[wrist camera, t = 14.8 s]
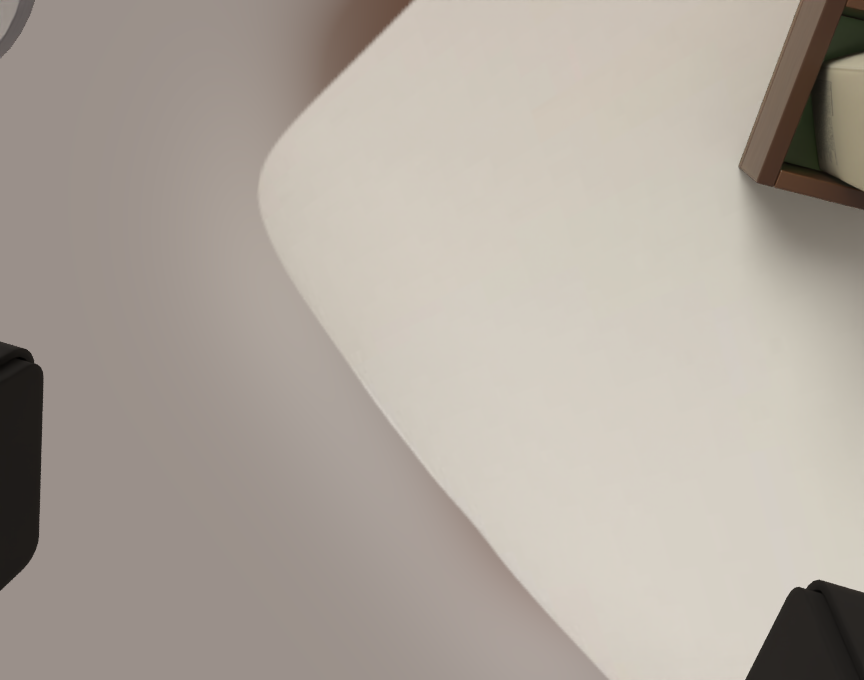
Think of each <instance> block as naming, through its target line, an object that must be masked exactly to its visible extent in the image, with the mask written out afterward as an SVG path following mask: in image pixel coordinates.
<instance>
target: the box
mask: <svg viewBox="0 0 864 680" xmlns="http://www.w3.org/2000/svg"><path fill="white" fill-rule="evenodd" d="M811 97H812V108H813V119H814V128H815V137H816V145H817V153H818V161H819V167H820V169H821V170H823V171H824V172H827V173H828V174H830V175H832V176H834V177H836V178H838V179H840V180H842V181H844V182H846V183H848V184H850V185H852V186H854V187H856V188H858V189H860V190H862V191H864V50H863V51H859V52H855V53H851V54H847V55H843V56H840V57H836V58H832V59H829V60H825V61H823V63H822V66H821V68H820V71H819V73H818V76H817V79H816V81H815V84H814V86H813V89H812V91H811Z"/></svg>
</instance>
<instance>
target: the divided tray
mask: <svg viewBox="0 0 864 680" xmlns="http://www.w3.org/2000/svg"><path fill="white" fill-rule="evenodd" d="M863 50H864V0H800V3H799V5H798V8H797V11H796V13H795V16H794V19H793V21H792V24H791V27H790V29H789V32H788V35H787V38H786V40H785V43H784V46H783V48H782V51H781V54H780V56H779V59H778V62H777V64H776V67H775V70H774V72H773V75H772V78H771V80H770V83H769V86H768V88H767V91H766V94H765V96H764V99H763V102H762V104H761V107H760V110H759V112H758V115H757V118H756V120H755V123H754V126H753V128H752V131H751V134H750V137H749V139H748V142H747V145H746V147H745V150H744V153H743V155H742V158H741V161H740V163H739V166H738V167H739V168H740V169H742V170H743V171H744V172H745V173H746V174H747V175H749V176H750V177H751V178H752V179H753V180H754V181H756V182H757V183H759V184H763V185H767V186H771V187H773V186H774V187H775V188H779V189H783V190H787V191H791V192H795V193H799V194H803V195H806V196H810V197H814V198H818V199H822V200H826V201H830V202H834V203H838V204H842V205H846V206H850V207H854V208H858V209H862V210H864V191H862V190H860V189H858V188H856V187H854V186H852V185H850V184H848V183H846V182H844V181H842V180H840V179H838V178H836V177H834V176H832V175H830V174H828V173H827V172H824V171H823V170H821V169H820V167H819V161H818V153H817V145H816V137H815V128H814V119H813V108H812V97H811V91H812V89H813V86H814V84H815V81H816V79H817V76H818V73H819V71H820V68H821V66H822V63H823V61H825V60H829V59H832V58H836V57H840V56H843V55H847V54H851V53H855V52H859V51H863Z"/></svg>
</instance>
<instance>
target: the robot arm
mask: <svg viewBox="0 0 864 680" xmlns="http://www.w3.org/2000/svg"><path fill="white" fill-rule="evenodd" d="M42 411H43V371H42V369H41V367H40V366H38V365H37V364H34V359H33V356H32V354H31V353H30V352H29V351H28V350H27V349H24V348H20V347H17V346H13V345H10V344H7V343H3V342H0V590H2V589H3V588H4V587H5V586H6V585H7V584H8V583H9V582H10V581H11V580H12V579H13V578H14V577H15V576H16V575H17V574H18V573H19V572H21V570H22V569H24V567H25V566H26V565H27V564H28V563H29V561H30V560H31V558H32V557H33V554H34V552H35V550H36V547H37V544H38V538H39V514H40V479H41V476H40V475H41V445H42ZM745 680H864V593H863V592H860V591H856V590H853V589H849V588H846V587H843V586H839V585H836V584H832V583H829V582H825V581H822V580H816V581H813V582H812V583H811V584H810V585H808V587H807V588H806V589H804V588H801V587H796V588H794V589H793V590H792V591H791V592H790V593H789V595H788V597H787V598H786V600H785V602H784V604H783V606H782V608H781V610H780V612H779V614H778V616H777V618H776V620H775V622H774V624H773V626H772V628H771V630H770V632H769V634H768V636H767V638H766V640H765V642H764V644H763V646H762V648H761V650H760V652H759V654H758V656H757V658H756V660H755V662H754V664H753V666H752V668H751V670H750V672H749V673H748V675H747V677H746V679H745Z"/></svg>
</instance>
